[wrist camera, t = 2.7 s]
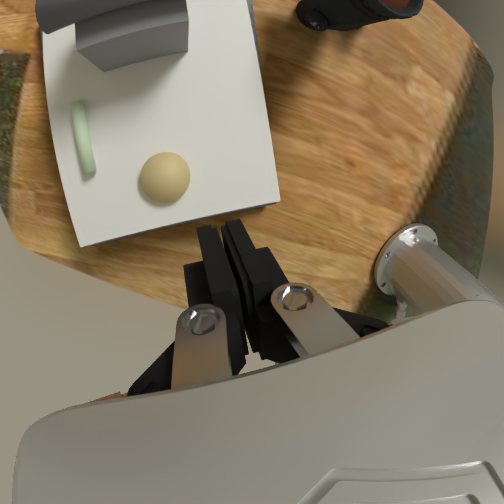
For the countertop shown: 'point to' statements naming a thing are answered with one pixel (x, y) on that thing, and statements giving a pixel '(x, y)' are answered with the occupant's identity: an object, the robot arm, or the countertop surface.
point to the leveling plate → (155, 112)
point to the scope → (353, 12)
